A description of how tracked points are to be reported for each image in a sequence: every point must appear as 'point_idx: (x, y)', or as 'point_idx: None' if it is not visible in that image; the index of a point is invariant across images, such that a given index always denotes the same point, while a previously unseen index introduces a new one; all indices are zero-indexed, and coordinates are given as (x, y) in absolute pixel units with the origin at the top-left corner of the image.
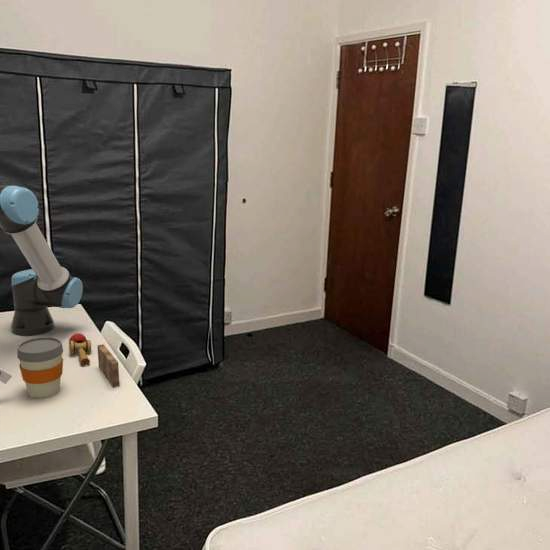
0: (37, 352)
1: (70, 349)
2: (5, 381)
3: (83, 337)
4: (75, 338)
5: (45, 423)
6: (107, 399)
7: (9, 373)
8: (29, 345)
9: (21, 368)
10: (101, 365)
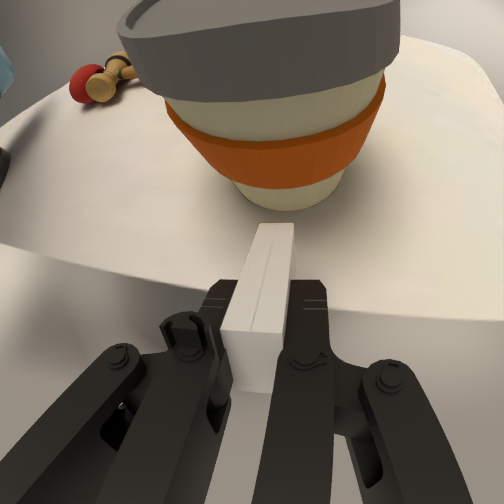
0: None
1: (99, 96)
2: (294, 271)
3: (94, 64)
4: (86, 74)
5: (499, 205)
6: (406, 65)
7: (261, 229)
8: (185, 16)
9: (308, 142)
10: None
